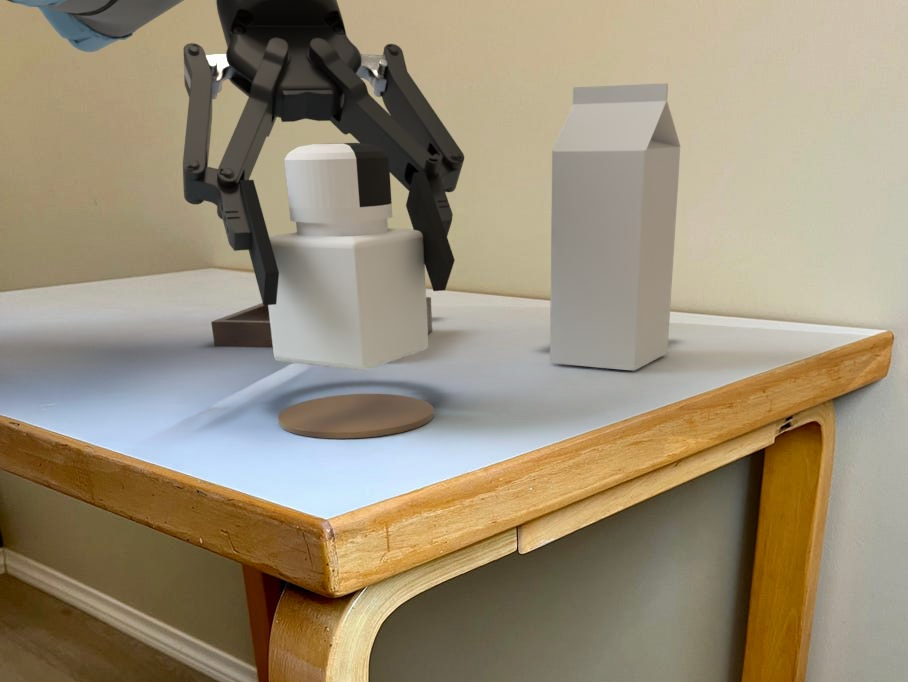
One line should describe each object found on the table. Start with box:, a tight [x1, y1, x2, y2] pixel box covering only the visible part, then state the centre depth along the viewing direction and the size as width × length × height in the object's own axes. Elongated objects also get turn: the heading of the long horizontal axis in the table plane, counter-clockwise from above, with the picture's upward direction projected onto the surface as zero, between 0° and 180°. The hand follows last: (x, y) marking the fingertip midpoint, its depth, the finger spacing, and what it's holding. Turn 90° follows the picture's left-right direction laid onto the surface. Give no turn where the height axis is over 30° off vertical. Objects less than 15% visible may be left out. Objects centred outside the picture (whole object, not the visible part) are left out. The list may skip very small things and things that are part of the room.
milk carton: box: [549, 82, 681, 371], centre depth 75 cm, size 7×7×19 cm
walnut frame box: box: [211, 296, 433, 349], centre depth 88 cm, size 15×15×3 cm
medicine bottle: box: [268, 142, 429, 371], centre depth 61 cm, size 7×7×12 cm
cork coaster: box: [277, 393, 435, 440], centre depth 65 cm, size 10×10×1 cm
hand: (360, 282), depth 59 cm, fingers closed on medicine bottle, 10 cm apart
